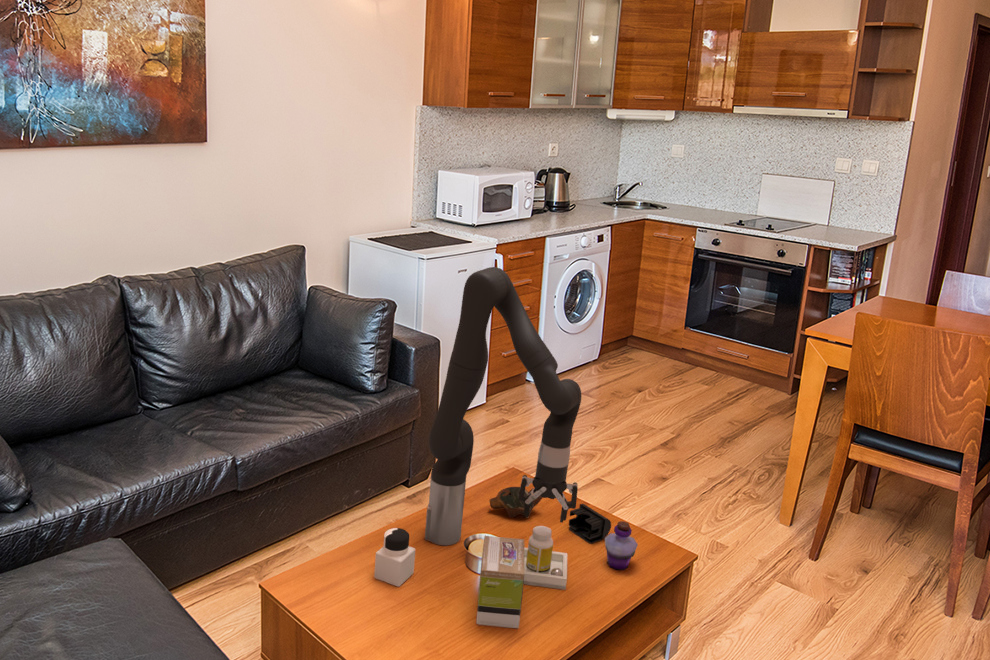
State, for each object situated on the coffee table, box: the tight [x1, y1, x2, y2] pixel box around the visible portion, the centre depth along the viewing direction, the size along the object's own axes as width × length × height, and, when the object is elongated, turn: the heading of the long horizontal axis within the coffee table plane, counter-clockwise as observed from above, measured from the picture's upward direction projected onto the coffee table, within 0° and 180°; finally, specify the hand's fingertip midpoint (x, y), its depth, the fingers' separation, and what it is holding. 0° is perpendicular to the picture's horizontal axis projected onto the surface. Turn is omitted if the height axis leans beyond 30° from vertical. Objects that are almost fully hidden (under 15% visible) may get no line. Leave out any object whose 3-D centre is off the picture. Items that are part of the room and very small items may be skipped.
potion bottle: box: [604, 520, 639, 571], centre depth 218 cm, size 9×9×12 cm
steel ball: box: [551, 568, 563, 576], centre depth 208 cm, size 3×3×3 cm
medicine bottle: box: [374, 527, 416, 587], centre depth 203 cm, size 7×7×12 cm
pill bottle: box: [526, 525, 554, 574], centre depth 210 cm, size 6×6×11 cm
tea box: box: [475, 535, 525, 629], centre depth 194 cm, size 15×10×15 cm
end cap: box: [568, 503, 612, 545], centre depth 233 cm, size 10×7×7 cm
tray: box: [523, 547, 568, 591], centre depth 212 cm, size 14×12×3 cm
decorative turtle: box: [489, 486, 543, 519], centre depth 239 cm, size 10×15×8 cm, turn 102°
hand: (544, 518), depth 208 cm, fingers open, 8 cm apart
